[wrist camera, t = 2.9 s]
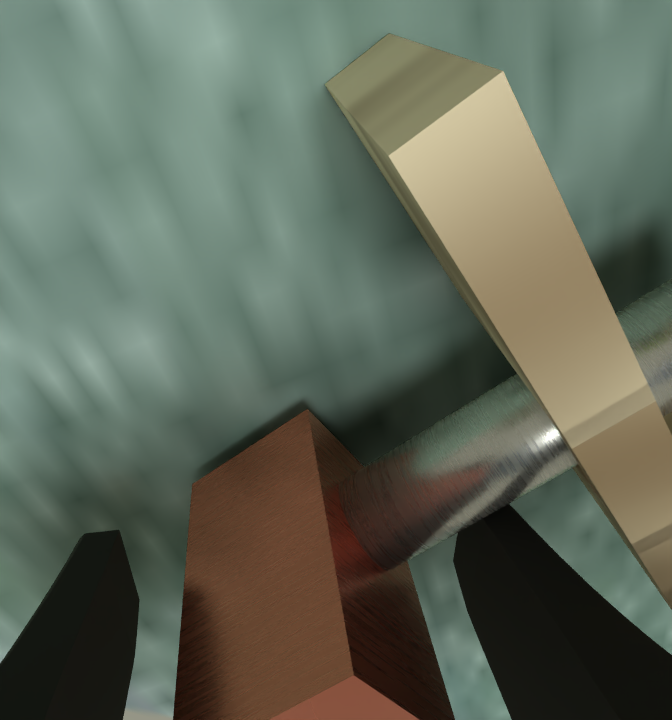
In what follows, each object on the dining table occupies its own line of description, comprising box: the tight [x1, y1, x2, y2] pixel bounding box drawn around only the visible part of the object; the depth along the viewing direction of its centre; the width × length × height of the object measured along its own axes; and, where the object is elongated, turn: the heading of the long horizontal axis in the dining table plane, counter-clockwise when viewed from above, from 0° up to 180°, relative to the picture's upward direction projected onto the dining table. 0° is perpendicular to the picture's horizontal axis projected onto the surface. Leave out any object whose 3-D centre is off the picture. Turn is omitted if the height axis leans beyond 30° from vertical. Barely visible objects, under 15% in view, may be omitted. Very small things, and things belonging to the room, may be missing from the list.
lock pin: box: [173, 279, 672, 720], centre depth 10 cm, size 3×11×5 cm, turn 125°
